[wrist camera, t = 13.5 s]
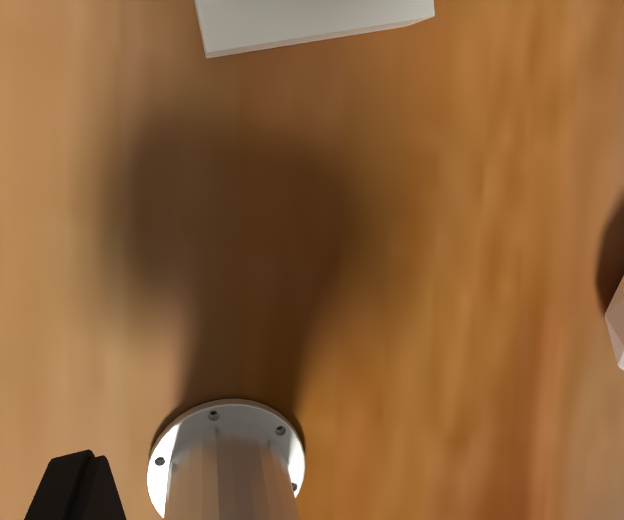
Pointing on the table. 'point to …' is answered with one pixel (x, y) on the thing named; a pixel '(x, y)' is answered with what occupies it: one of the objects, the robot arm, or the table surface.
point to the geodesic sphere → (617, 323)
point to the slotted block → (298, 21)
